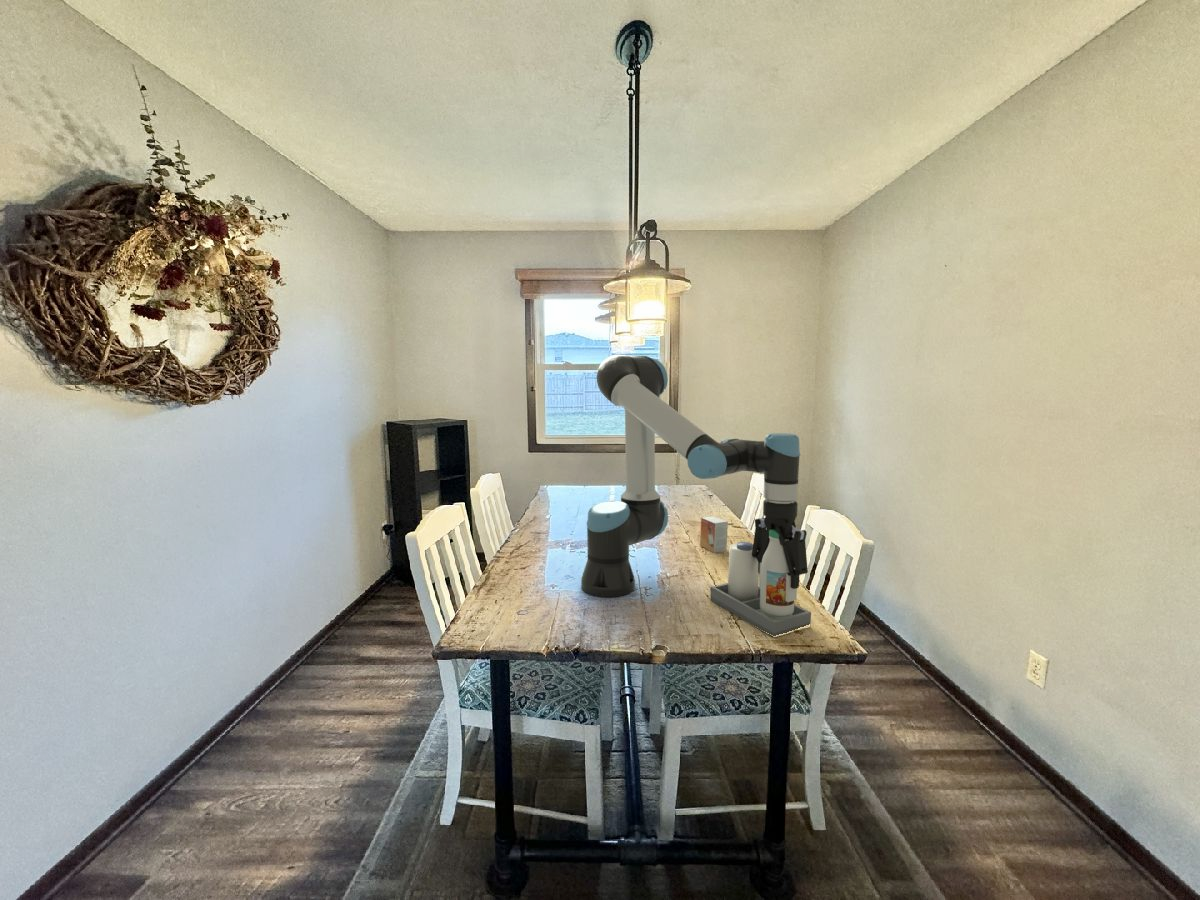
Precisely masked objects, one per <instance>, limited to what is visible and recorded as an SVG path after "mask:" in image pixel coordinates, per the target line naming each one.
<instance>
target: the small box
mask: <svg viewBox="0 0 1200 900" xmlns="http://www.w3.org/2000/svg"><path fill="white" fill-rule="evenodd" d="M728 525H729V521H727V520H724V519H721V518H718V517H716V516H714V515H712V516H705V517H703V516H702V517H701V519H700V539H699V540H700V541H699V546H700V547H701V548H704V549H705V550H708V551H709V552H711V553H713V554H716V553H722V552H727V547H728V545H727V544H728V530H729V529H728V527H729V526H728Z"/></svg>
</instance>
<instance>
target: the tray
mask: <svg viewBox="0 0 1200 900" xmlns="http://www.w3.org/2000/svg"><path fill="white" fill-rule="evenodd" d="M709 596H710V597H709V600H710V601H711V602H713V603H714V604H716V605H718V606H720V607H721V608H723V609H724V610H726V611H727V612H730V613H731V614H732V615H734V614H735V615H734V616H736V617H737V618H739V617H740V618H739V619H741V618H742V620H743V621H744V620H745V621H744V622H746V621H747V622H746V623H748V622H749V623H750V624H749V623H748V624H749V625H751V624H752V625H751V626H753V625H754V626H756V627H758V628H759V629H758V628H757V629H758V630H760V629H761V630H763V631H765V632H767V633H769V634H771V635H773V636H776V635H779V634H783V633H787V632H789V631H792V630H795V629H798V628H800V627H804V626H806V625H809V624H810V625H811V622H812V621H811V620H812V612H811V611H809V610H808V609H806V608H803V607H801V606H799V605H798V604H796V603H794V612H793V614H792V615H790V616H787V617H776V616H771V615H768V614H766V613H764V612H763V611H762V610H761V608H760V589H759V588H758V598H756V599H751V600H747V601H743V602H741V601H739V600H737V599H735V598H733V597H732V596H730V595H728V582H726V583H721V584H717V585H714V586H713V585H712V586H710V595H709ZM754 626H753V627H754ZM756 627H755V628H756ZM761 630H760V631H761ZM763 631H762V632H763ZM765 632H764V633H765Z"/></svg>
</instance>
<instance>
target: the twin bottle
mask: <svg viewBox="0 0 1200 900" xmlns="http://www.w3.org/2000/svg"><path fill="white" fill-rule="evenodd" d="M752 549H753V543H752V542H749V541H738V542H736V543H732V544H730V545H729V550H728V551H729V552H728V575H727V577H728V579H727V583H728V595H730V596H732V597H733V598H735V599H737V600H739V601H741V602H743V601H747V600H751V599H756V598H758V588H759V575H760V574H759V573H758V561H757V558H756V557H753V556H752ZM757 551H758V550H757Z"/></svg>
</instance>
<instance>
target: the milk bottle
mask: <svg viewBox="0 0 1200 900" xmlns="http://www.w3.org/2000/svg"><path fill="white" fill-rule="evenodd" d="M769 538H770V542H769V545H768V548H767V550H766V551H765V553H764V555H763V558H762V563H761V582H760V608H761V610H762V611H763V612H764V613H766V614H768V615H771V616H776V617H787V616H790V615H792V614H793V612H794V604H795V600H794V601H791V602H786V601H785V598H786V574H787V573H789V569H788V565H787V561H786V558H785V554H784V550H783V546H782V545H781V544H780V541H779V539H778V538H779V534H778V533H777V532H776V530H774V529H771V530H770V531H769ZM785 541H789V539H787V540H785ZM794 569H795V568H794Z"/></svg>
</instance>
